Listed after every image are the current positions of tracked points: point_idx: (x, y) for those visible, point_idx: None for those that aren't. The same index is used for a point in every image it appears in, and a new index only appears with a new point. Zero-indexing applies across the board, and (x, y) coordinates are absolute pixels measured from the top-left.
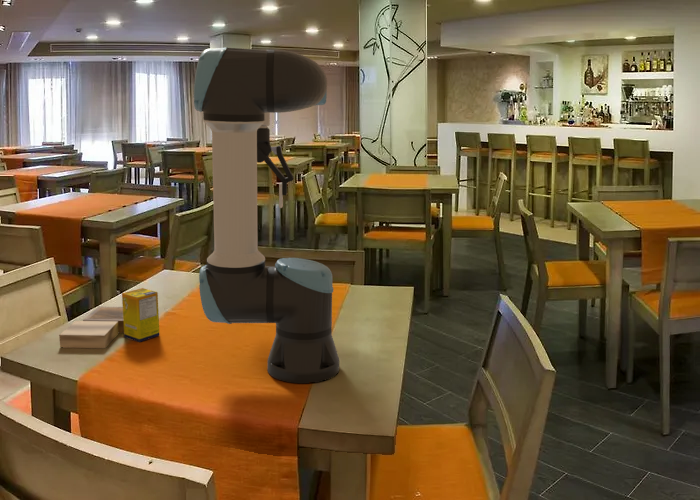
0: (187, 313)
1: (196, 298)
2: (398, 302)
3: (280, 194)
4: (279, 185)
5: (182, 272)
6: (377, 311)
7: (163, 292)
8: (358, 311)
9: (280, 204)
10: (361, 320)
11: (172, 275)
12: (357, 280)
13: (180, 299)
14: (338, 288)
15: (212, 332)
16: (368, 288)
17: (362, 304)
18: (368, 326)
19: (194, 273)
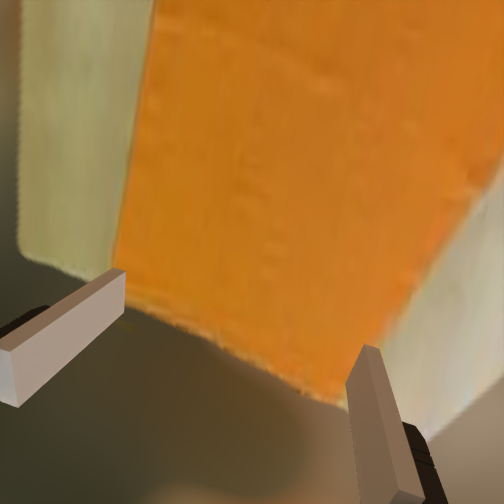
0: (441, 169)
1: (398, 271)
2: (33, 169)
3: (67, 303)
4: (20, 341)
5: None
6: (68, 118)
7: (459, 325)
8: (100, 124)
9: (108, 276)
10: (97, 61)
11: (414, 423)
12: None
13: (434, 271)
14: (128, 274)
15: (415, 7)
16: (79, 262)
17: (92, 168)
18: (86, 15)
19: None
